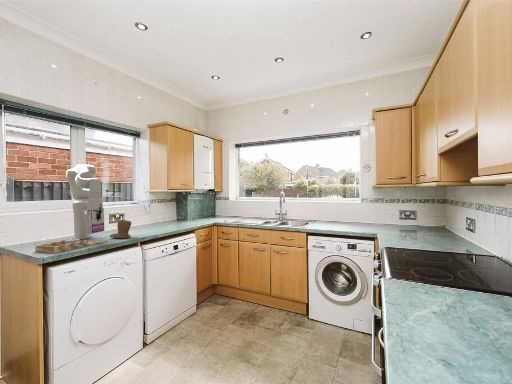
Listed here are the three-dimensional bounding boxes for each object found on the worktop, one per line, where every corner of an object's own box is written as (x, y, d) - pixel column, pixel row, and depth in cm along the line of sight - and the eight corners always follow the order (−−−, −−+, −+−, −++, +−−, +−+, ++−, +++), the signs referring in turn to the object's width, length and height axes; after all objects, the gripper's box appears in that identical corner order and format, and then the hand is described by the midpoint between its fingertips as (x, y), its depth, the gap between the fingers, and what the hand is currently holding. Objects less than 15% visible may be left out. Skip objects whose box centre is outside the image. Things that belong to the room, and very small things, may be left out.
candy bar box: (99, 230, 188) (98, 209, 188) (104, 231, 187) (104, 209, 187) (86, 233, 177) (86, 210, 177) (92, 233, 176) (91, 210, 176)
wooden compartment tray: (69, 244, 178) (68, 239, 178) (87, 245, 174) (87, 239, 174) (35, 251, 157) (35, 245, 157) (55, 253, 153) (55, 246, 153)
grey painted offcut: (65, 244, 171) (64, 240, 171) (79, 242, 176) (79, 238, 176) (65, 244, 168) (65, 241, 168) (79, 243, 173) (79, 239, 173)
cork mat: (100, 241, 190) (100, 240, 190) (107, 241, 188) (107, 240, 188) (83, 244, 176) (83, 244, 176) (91, 245, 175) (91, 244, 175)
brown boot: (134, 236, 206) (134, 219, 206) (122, 239, 195) (122, 221, 195) (121, 236, 211) (121, 218, 211) (108, 238, 200) (108, 220, 200)
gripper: (81, 195, 181) (81, 219, 181) (100, 194, 177) (100, 219, 177) (90, 195, 188) (90, 218, 188) (108, 194, 184) (109, 218, 184)
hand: (95, 218), depth 182 cm, fingers closed on candy bar box, 5 cm apart
